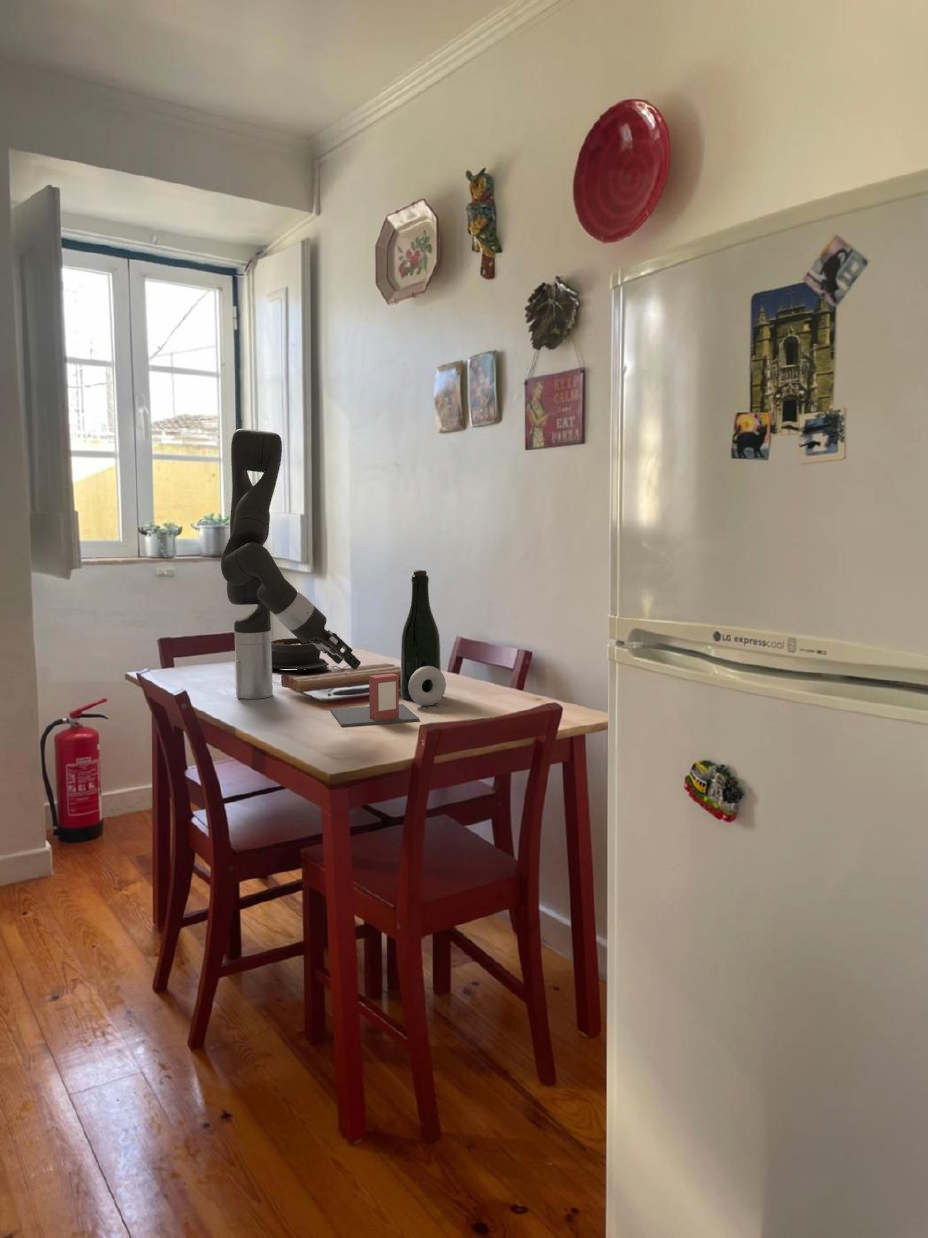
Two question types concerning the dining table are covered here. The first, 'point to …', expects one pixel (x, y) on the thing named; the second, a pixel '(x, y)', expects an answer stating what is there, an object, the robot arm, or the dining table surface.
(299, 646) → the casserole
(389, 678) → the card box
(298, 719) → the dining table surface
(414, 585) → the dark green wine bottle
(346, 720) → the mat
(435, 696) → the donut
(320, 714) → the dining table surface
